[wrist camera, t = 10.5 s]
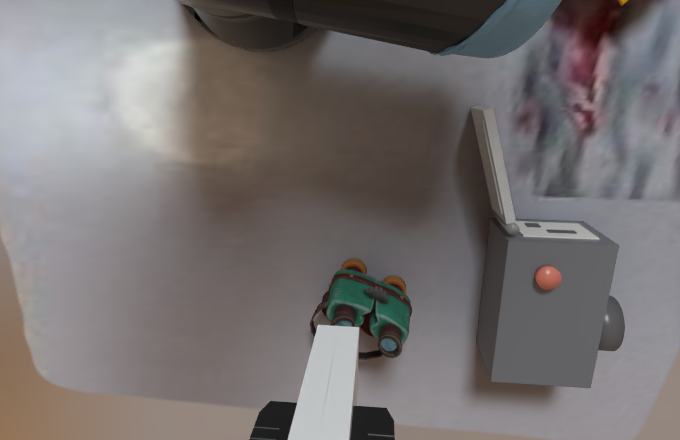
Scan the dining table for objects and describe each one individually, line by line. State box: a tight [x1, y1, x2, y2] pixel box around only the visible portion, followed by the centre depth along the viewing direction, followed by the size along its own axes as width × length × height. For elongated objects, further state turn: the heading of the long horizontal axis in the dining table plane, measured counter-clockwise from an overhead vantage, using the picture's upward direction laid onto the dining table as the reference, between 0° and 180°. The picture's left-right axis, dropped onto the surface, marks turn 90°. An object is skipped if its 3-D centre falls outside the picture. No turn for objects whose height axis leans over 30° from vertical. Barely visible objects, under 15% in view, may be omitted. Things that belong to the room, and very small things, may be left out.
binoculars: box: [310, 259, 412, 360], centre depth 45 cm, size 9×11×10 cm
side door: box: [471, 105, 520, 235], centre depth 41 cm, size 1×11×6 cm, turn 16°
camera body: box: [476, 218, 625, 388], centre depth 43 cm, size 14×12×8 cm
